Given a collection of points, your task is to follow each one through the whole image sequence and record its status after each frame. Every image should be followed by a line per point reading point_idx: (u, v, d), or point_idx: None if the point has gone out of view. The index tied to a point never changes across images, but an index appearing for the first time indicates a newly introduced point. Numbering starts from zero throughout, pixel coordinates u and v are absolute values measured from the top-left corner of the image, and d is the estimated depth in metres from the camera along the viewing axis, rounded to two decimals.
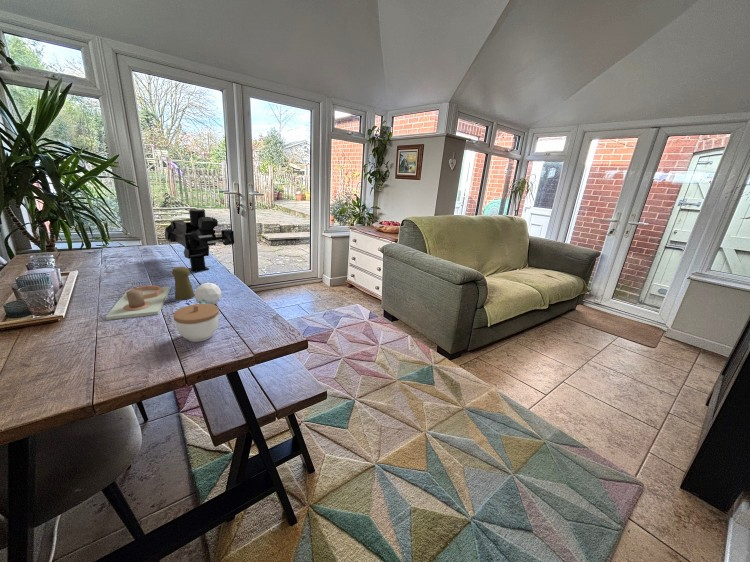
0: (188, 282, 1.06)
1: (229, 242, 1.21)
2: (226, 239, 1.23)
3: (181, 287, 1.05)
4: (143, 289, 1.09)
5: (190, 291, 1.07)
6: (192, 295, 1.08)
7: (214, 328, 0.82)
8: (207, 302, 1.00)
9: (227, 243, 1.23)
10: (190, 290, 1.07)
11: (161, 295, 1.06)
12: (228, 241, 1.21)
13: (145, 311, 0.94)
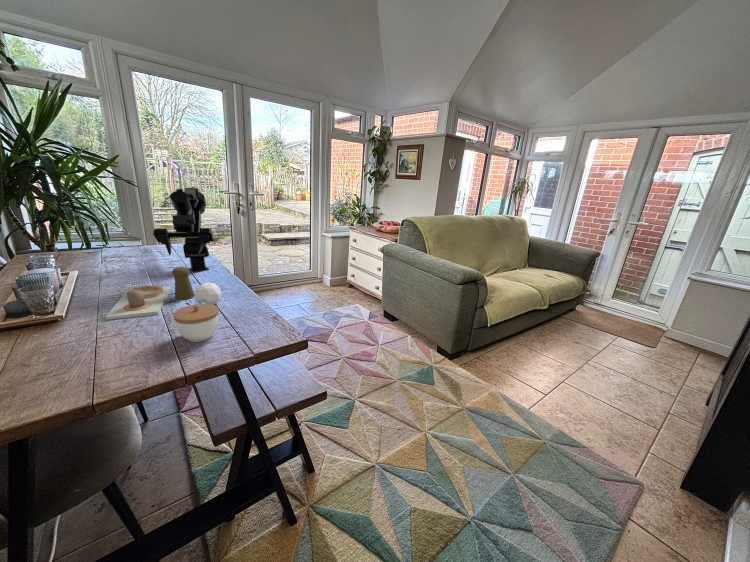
0: (188, 282, 1.06)
1: (198, 251, 1.13)
2: None
3: (181, 287, 1.05)
4: (143, 289, 1.09)
5: (190, 291, 1.07)
6: (192, 295, 1.08)
7: (214, 328, 0.82)
8: (207, 302, 1.00)
9: None
10: (190, 290, 1.07)
11: (161, 295, 1.06)
12: None
13: (145, 311, 0.94)
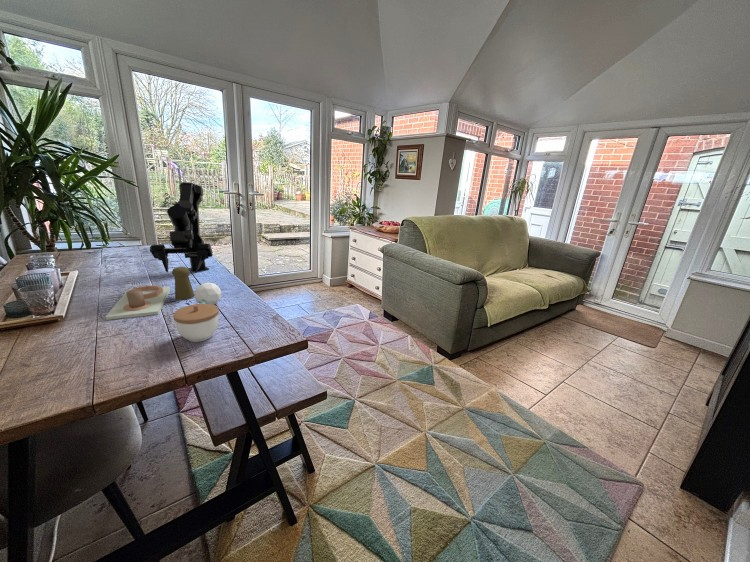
0: (188, 282, 1.06)
1: (196, 268, 1.09)
2: None
3: (181, 287, 1.05)
4: (143, 289, 1.09)
5: (190, 291, 1.07)
6: (192, 295, 1.08)
7: (214, 328, 0.82)
8: (207, 302, 1.00)
9: None
10: (190, 290, 1.07)
11: (161, 295, 1.06)
12: None
13: (145, 311, 0.94)
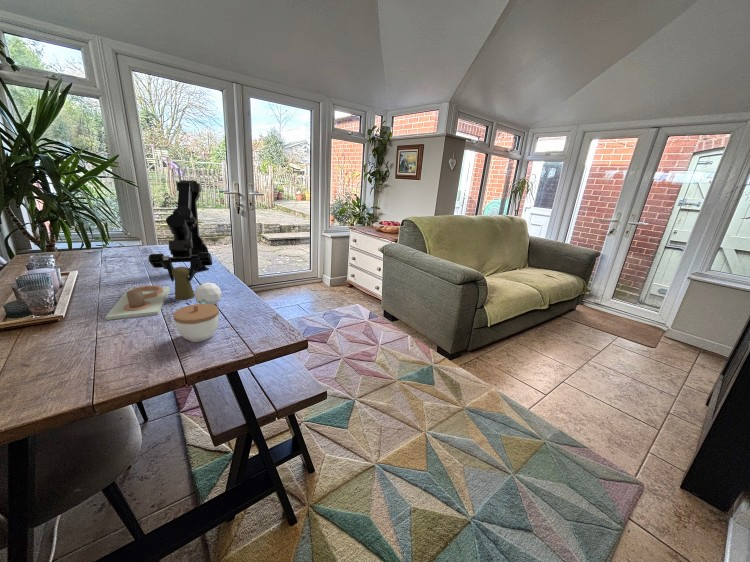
0: (188, 282, 1.06)
1: None
2: None
3: (181, 287, 1.05)
4: (143, 289, 1.09)
5: (190, 291, 1.07)
6: (192, 295, 1.08)
7: (214, 328, 0.82)
8: (207, 302, 1.00)
9: None
10: (190, 290, 1.07)
11: (161, 295, 1.06)
12: None
13: (145, 311, 0.94)
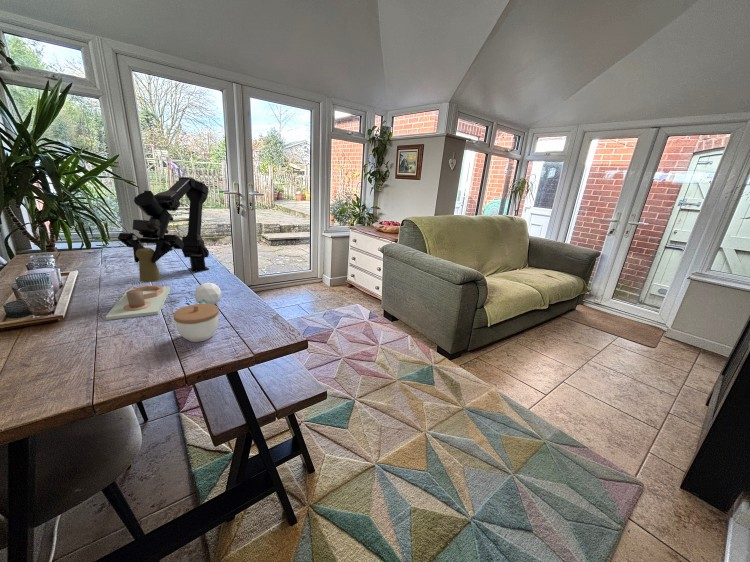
0: (151, 264, 1.02)
1: None
2: None
3: (143, 269, 1.01)
4: (143, 289, 1.09)
5: (153, 274, 1.03)
6: (156, 278, 1.03)
7: (214, 328, 0.82)
8: (207, 302, 1.00)
9: None
10: (154, 273, 1.03)
11: (161, 295, 1.06)
12: None
13: (145, 311, 0.94)
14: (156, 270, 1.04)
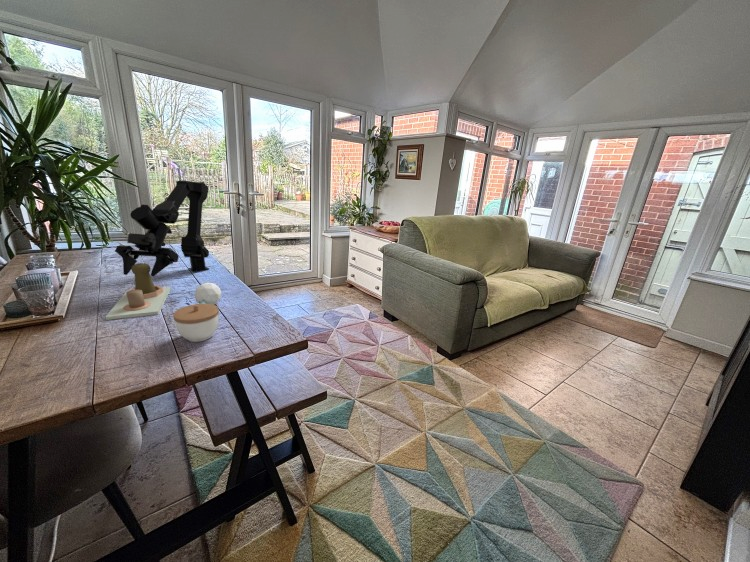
0: (146, 279, 1.04)
1: None
2: None
3: (138, 284, 1.03)
4: None
5: (148, 289, 1.04)
6: None
7: (214, 328, 0.82)
8: (207, 302, 1.00)
9: None
10: (148, 288, 1.04)
11: (161, 295, 1.06)
12: None
13: (145, 311, 0.94)
14: (151, 285, 1.05)
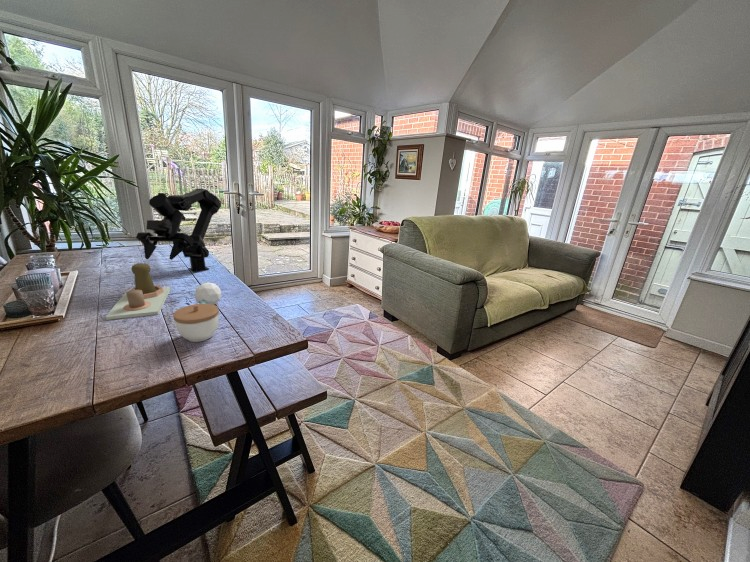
0: (146, 279, 1.04)
1: None
2: None
3: (138, 284, 1.03)
4: None
5: (148, 289, 1.04)
6: None
7: (214, 328, 0.82)
8: (207, 302, 1.00)
9: None
10: (148, 288, 1.04)
11: (161, 295, 1.06)
12: None
13: (145, 311, 0.94)
14: (151, 285, 1.05)
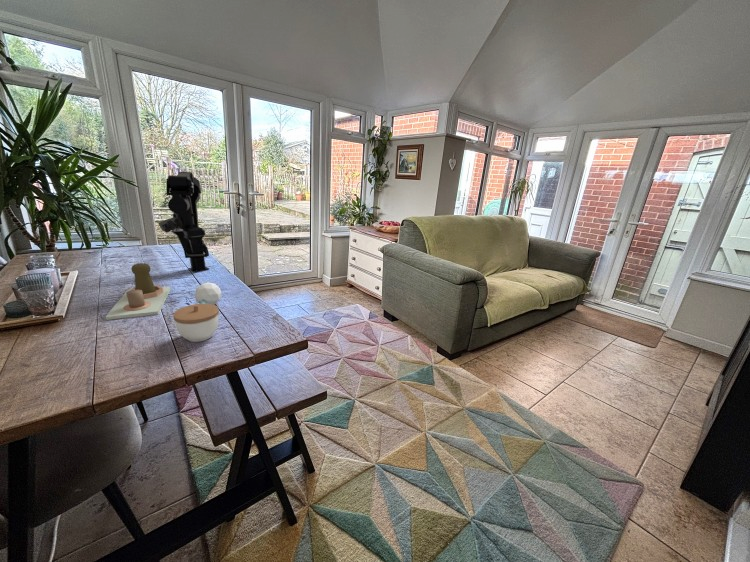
0: (146, 279, 1.04)
1: None
2: None
3: (138, 284, 1.03)
4: None
5: (148, 289, 1.04)
6: None
7: (214, 328, 0.82)
8: (207, 302, 1.00)
9: None
10: (148, 288, 1.04)
11: (161, 295, 1.06)
12: None
13: (145, 311, 0.94)
14: (151, 285, 1.05)
